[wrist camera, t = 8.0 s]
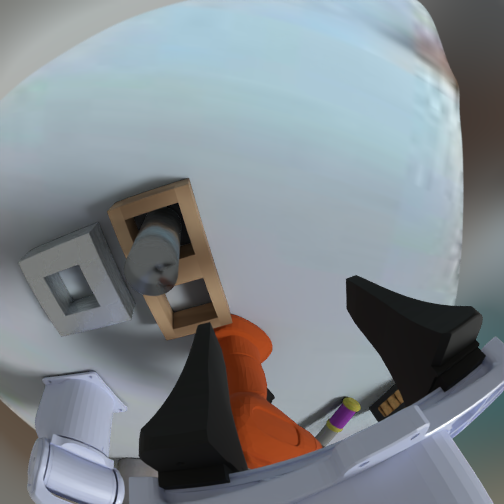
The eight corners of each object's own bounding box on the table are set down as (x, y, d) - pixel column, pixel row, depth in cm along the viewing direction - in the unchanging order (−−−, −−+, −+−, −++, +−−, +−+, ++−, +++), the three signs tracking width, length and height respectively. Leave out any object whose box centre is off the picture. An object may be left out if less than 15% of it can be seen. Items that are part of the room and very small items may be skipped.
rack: (228, 306, 25) (232, 322, 23) (167, 323, 25) (166, 340, 22) (189, 177, 20) (188, 183, 18) (115, 202, 19) (107, 211, 17)
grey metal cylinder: (150, 247, 21) (135, 300, 15) (139, 212, 20) (116, 254, 13) (185, 238, 22) (184, 289, 15) (176, 202, 20) (169, 240, 14)
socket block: (68, 321, 22) (61, 336, 20) (30, 250, 19) (18, 262, 17) (135, 303, 23) (131, 319, 21) (98, 222, 19) (88, 233, 17)
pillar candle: (150, 476, 41) (155, 534, 27) (109, 463, 36) (109, 526, 23) (176, 466, 39) (185, 532, 26) (131, 452, 35) (134, 525, 22)
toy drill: (304, 402, 33) (337, 496, 19) (192, 329, 27) (182, 464, 13) (333, 382, 32) (378, 475, 18) (226, 298, 26) (239, 437, 12)
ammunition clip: (373, 408, 42) (401, 455, 32) (368, 407, 42) (396, 456, 31) (414, 370, 40) (449, 415, 29) (410, 368, 39) (446, 415, 28)
